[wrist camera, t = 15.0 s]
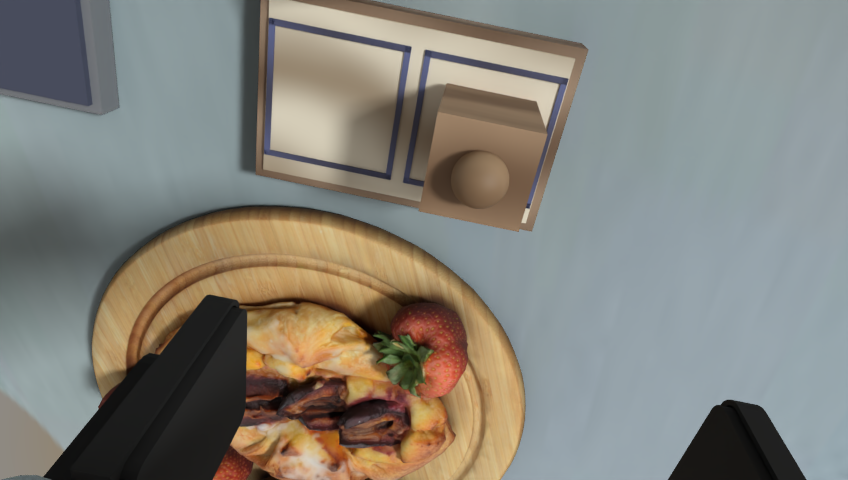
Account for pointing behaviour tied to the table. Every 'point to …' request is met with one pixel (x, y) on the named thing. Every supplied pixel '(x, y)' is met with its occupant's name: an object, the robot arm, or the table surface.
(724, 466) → the robot arm
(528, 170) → the stamp
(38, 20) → the ink pad
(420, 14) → the form board
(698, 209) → the table surface
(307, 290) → the wooden plate with food
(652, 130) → the table surface
